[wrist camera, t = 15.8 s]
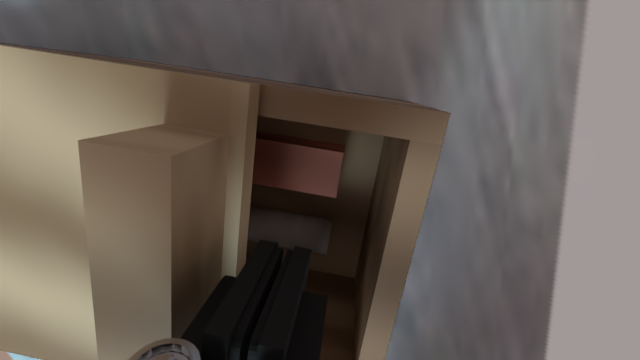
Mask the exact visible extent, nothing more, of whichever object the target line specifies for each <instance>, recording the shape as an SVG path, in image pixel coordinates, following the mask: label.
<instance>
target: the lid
mask: <svg viewBox="0 0 640 360" xmlns="http://www.w3.org/2000/svg"><path fill="white" fill-rule="evenodd" d="M259 93H260V84H256V83H249V82H243V81H236V80H230V79H223V78H217V77H210V76H204V75H197V74H191V73H184V72H178V71H171V70H165V69H158V68H152V67H145V66H139V65H132V64H126V63H119V62H113V61H106V60H100V59H93V58H87V57H80V56H74V55H67V54H61V53H54V52H48V51H41V50H35V49H28V48H22V47H15V46H9V45H3V44H0V350H1V351H6V352H10V353H15V354H19V355H24V356H28V357H33V358H37V359H42V360H128V359H129V358H130V357H131V356H132V355H133V354H135V353H136V352H137V351H139V350H140V349H141V348H142V347H144V346H146V345H148V344H150V343H152V342H154V341H158V340H162V339H165V338H179V339H180V338H181V336H182V335H183V333H184V332H185V331H186V329H187V328H188V326H189V325H190V323H191V322H192V321H193V319H194V318H195V316H196V315H197V313H198V312H199V310H200V309H201V308H202V306H203V305H204V303H205V302H206V300H207V299H208V298H209V296H210V295H211V293H212V292H213V290H214V289H215V288H216V286H217V285H218V283H219V282H220V280H221V279H222V278H223V277H224V276H225V275H228V276H233V277H237V276H238V275H239V273H240V272H241V270H242V268H243V267H244V265H245V263H246V251H247V238H248V226H249V214H250V202H251V190H252V178H253V165H254V153H255V141H256V129H257V117H258V105H259Z"/></svg>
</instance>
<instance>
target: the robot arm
mask: <svg viewBox="0 0 640 360" xmlns="http://www.w3.org/2000/svg"><path fill="white" fill-rule="evenodd" d="M311 253H312V249H308V248H302V247H297V246H295V248H294V250H289V249H288V250H287V252H286V255H285V257H284V260H283V262H282V257H283V248H279V247H278V243H277V242H272V241H267V240H260V241H259V243H258V244H257V246H256V248H255V249H254V251H253V252H252V254H251V256H250V257H249V259H248V260H247V262H246V264H245V265H244V267H243V268H242V270H241V272H240V273H239V275H238V276H237V277H233V276H228V275H225V276H224V277H223V278H222V279H221V280H220V282H219V283H218V285H217V286H216V288H215V289H214V290H213V292H212V293H211V295H210V296H209V298H208V299H207V300H206V302H205V303H204V305H203V306H202V308H201V309H200V310H199V312H198V313H197V315H196V316H195V318H194V319H193V321H192V322H191V323H190V325H189V326H188V328H187V329H186V331H185V332H184V333H183V335H182V336H181V338H180V339H179V338H165V339H162V340H158V341H154V342H152V343H150V344H148V345H146V346H144V347H142V348H141V349H140V350H139V351H137V352H136V353H135V354H133V355H132V356H131V357H130V358H129V359H128V360H320V353H321V345H322V337H323V330H324V322H325V315H326V307H327V299H328V296H327V295H322V294H317V293H312V292H307V291H305V289H306V283H307V277H308V271H309V265H310V259H311Z"/></svg>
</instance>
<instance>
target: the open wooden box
mask: <svg viewBox="0 0 640 360" xmlns="http://www.w3.org/2000/svg"><path fill="white" fill-rule="evenodd" d="M0 44H3V45H9V46H15V47H22V48H28V49H35V50H41V51H48V52H54V53H61V54H67V55H74V56H80V57H87V58H93V59H100V60H106V61H113V62H119V63H126V64H132V65H139V66H145V67H152V68H158V69H165V70H171V71H178V72H184V73H191V74H197V75H204V76H210V77H217V78H223V79H230V80H236V81H243V82H249V83H256V84H260V93H259V105H258V117H257V129H256V141H255V153H254V165H253V178H252V190H251V202H250V214H249V226H248V238H247V251H246V262H247V260H248V259H249V257H250V256H251V254H252V252H253V251H254V249H255V248H256V246H257V244H258V243H259V241H260V240H267V241H272V242H277V243H278V247H279V248H283V257H282V262H283V260H284V257H285V255H286V252H287V250H288V249H289V250H294V248H295V246H297V247H302V248H308V249H312V253H311V259H310V265H309V271H308V277H307V283H306V289H305V291H307V292H312V293H317V294H322V295H327V296H328V299H327V307H326V315H325V322H324V330H323V337H322V345H321V353H320V360H385V356H386V353H387V349H388V345H389V341H390V338H391V334H392V330H393V326H394V323H395V319H396V315H397V311H398V308H399V304H400V300H401V296H402V293H403V289H404V285H405V282H406V278H407V274H408V270H409V267H410V263H411V259H412V255H413V252H414V248H415V244H416V240H417V237H418V233H419V229H420V225H421V222H422V218H423V214H424V210H425V207H426V203H427V199H428V195H429V192H430V188H431V184H432V180H433V177H434V173H435V169H436V166H437V162H438V158H439V154H440V151H441V147H442V143H443V139H444V136H445V132H446V128H447V124H448V121H449V117H450V113H448V112H444V111H441V110H437V109H434V108H430V107H426V106H423V105H419V104H415V103H412V102H408V101H402V100H395V99H389V98H382V97H375V96H369V95H362V94H356V93H349V92H343V91H336V90H330V89H323V88H317V87H310V86H304V85H297V84H290V83H284V82H277V81H271V80H264V79H258V78H251V77H245V76H238V75H232V74H225V73H219V72H212V71H205V70H199V69H192V68H186V67H179V66H173V65H166V64H160V63H153V62H147V61H140V60H134V59H126V58H118V57H109V56H101V55H93V54H85V53H77V52H69V51H61V50H53V49H45V48H37V47H29V46H21V45H13V44H5V43H0ZM245 264H246V263H245Z"/></svg>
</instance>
